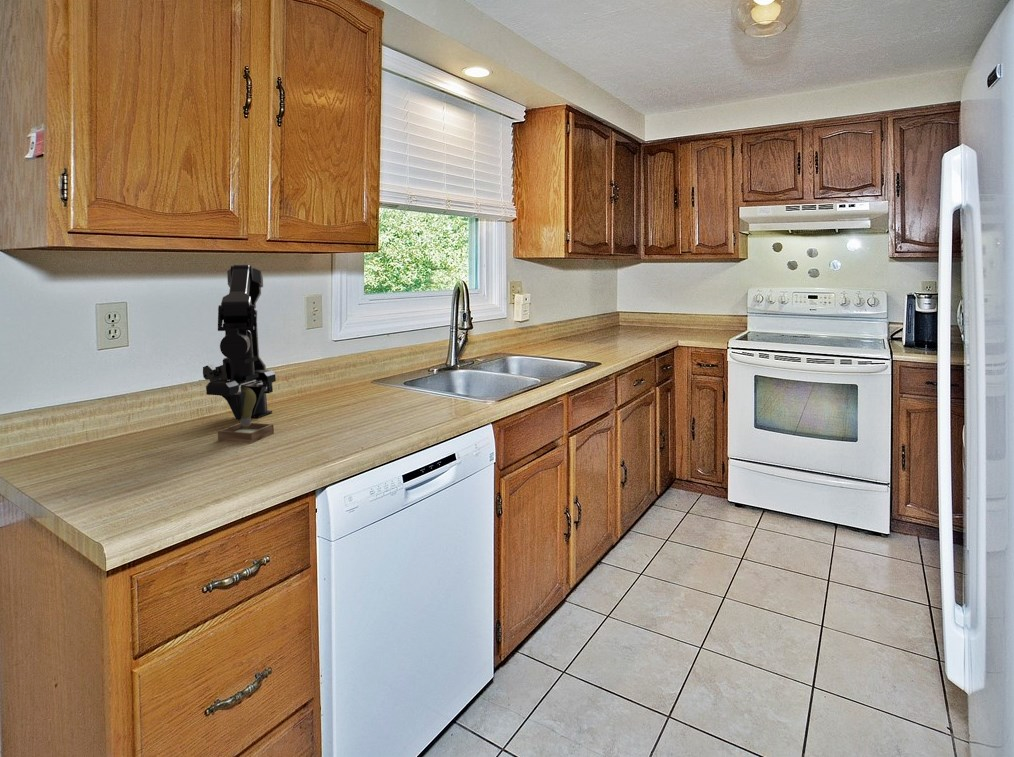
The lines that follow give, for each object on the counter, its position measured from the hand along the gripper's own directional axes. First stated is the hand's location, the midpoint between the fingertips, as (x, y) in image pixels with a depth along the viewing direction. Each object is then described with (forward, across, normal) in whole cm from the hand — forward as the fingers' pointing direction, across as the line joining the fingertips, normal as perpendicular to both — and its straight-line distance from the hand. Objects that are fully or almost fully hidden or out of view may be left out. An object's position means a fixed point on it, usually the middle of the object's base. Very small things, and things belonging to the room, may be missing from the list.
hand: (245, 417), depth 154 cm
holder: (+5, 0, 0) cm, 5 cm away
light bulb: (+3, 0, 0) cm, 3 cm away
